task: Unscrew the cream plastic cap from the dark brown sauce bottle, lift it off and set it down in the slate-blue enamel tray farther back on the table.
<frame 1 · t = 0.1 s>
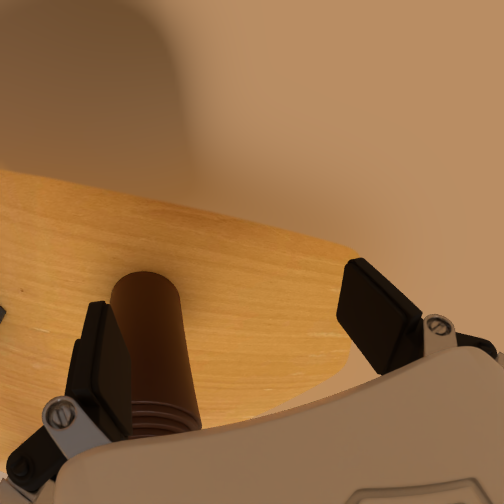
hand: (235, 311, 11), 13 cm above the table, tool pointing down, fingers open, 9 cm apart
bottle: (145, 301, 25), on the table
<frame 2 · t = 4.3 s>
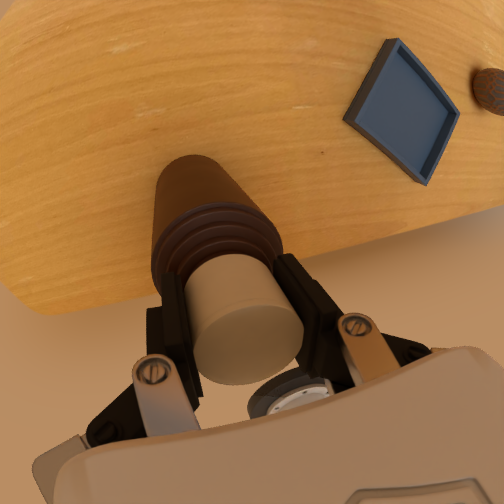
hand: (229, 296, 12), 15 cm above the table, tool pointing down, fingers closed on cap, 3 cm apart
bottle: (192, 191, 25), on the table
vase: (478, 88, 27), on the table
cap: (248, 344, 10), point 18 cm above the table, screwed on, not yet turned, touching gripper
tray: (405, 113, 27), on the table
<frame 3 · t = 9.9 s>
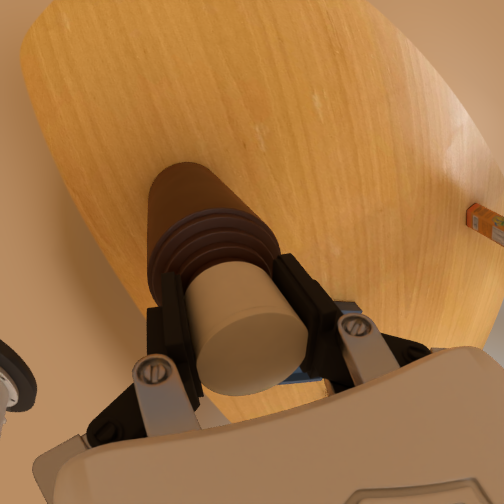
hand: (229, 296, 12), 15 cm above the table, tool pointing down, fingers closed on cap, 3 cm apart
supplement box: (470, 212, 38), on the table
bottle: (185, 199, 25), on the table
cap: (252, 353, 9), point 18 cm above the table, turned 78° so far, risen 0.1 cm, still on its thread, touching gripper
tray: (301, 340, 37), on the table
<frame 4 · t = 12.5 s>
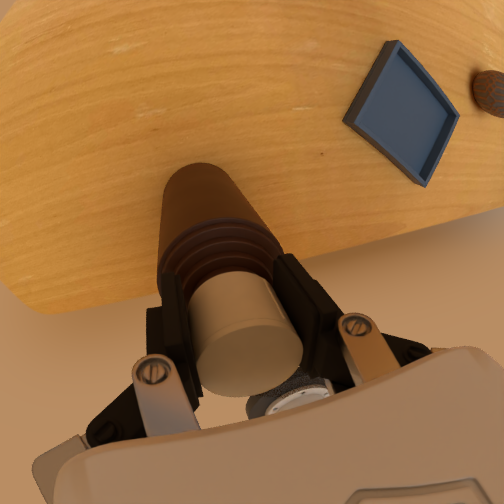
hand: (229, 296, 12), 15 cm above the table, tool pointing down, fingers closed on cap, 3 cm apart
bottle: (199, 198, 25), on the table
vase: (477, 90, 28), on the table
cap: (249, 359, 10), point 18 cm above the table, turned 78° so far, risen 0.1 cm, still on its thread, touching gripper
tray: (404, 114, 27), on the table
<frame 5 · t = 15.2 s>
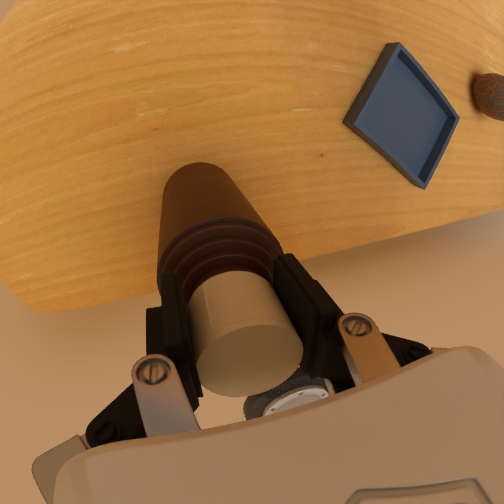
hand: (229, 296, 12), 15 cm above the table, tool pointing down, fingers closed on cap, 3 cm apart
bottle: (199, 198, 25), on the table
vase: (477, 93, 28), on the table
cap: (249, 359, 10), point 18 cm above the table, turned 156° so far, risen 0.2 cm, still on its thread, touching gripper
tray: (404, 116, 27), on the table
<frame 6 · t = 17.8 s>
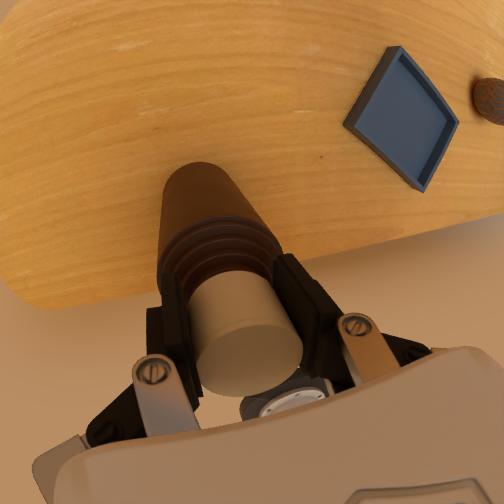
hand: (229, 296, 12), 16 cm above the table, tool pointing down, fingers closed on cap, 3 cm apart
bottle: (199, 197, 25), on the table
vase: (478, 97, 28), on the table
cap: (249, 359, 10), point 18 cm above the table, turned 235° so far, risen 0.3 cm, still on its thread, touching gripper
tray: (404, 120, 27), on the table
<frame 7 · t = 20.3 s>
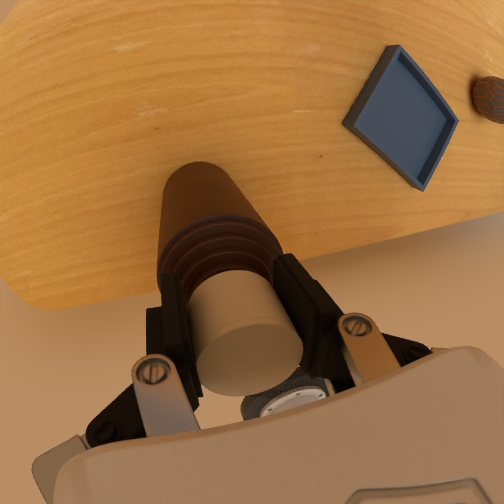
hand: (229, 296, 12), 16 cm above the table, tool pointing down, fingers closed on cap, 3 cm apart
bottle: (199, 197, 26), on the table
vase: (477, 95, 28), on the table
cap: (249, 358, 10), point 19 cm above the table, turned 312° so far, risen 0.3 cm, still on its thread, touching gripper
tray: (403, 118, 27), on the table
when the fingers open (3 cm above the table, at t = 32.8 s): cap drops 2 cm, resting on tray.
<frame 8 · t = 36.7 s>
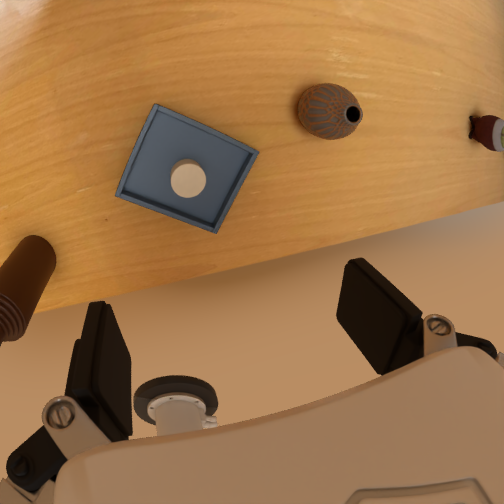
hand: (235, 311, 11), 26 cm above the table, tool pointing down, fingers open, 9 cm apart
mate gourd: (472, 128, 42), on the table
bottle: (36, 256, 32), on the table
vase: (314, 109, 34), on the table
cap: (188, 180, 31), point 3 cm above the table, off its thread, touching tray
tray: (185, 168, 33), on the table
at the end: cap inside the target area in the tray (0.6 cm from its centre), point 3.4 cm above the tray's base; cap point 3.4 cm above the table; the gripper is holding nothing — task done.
